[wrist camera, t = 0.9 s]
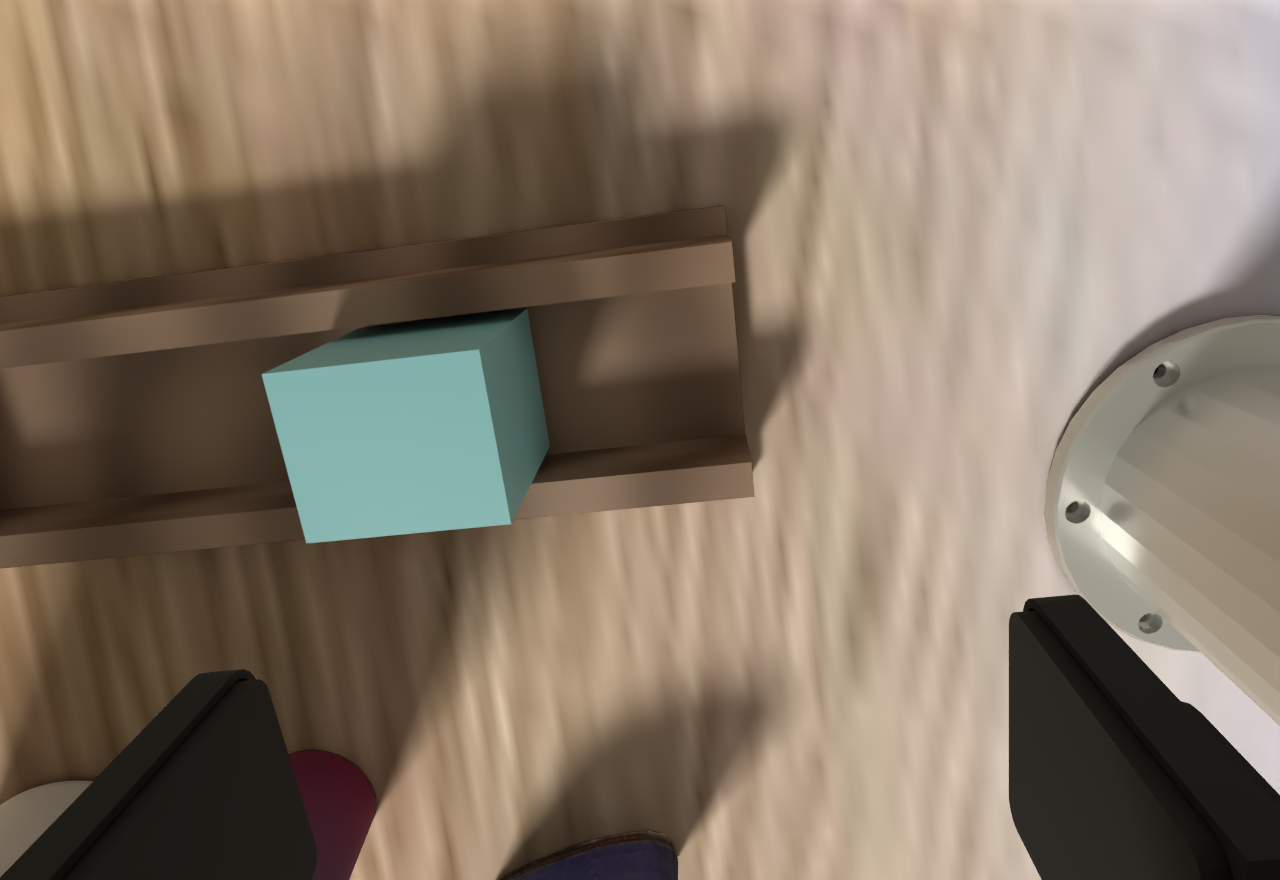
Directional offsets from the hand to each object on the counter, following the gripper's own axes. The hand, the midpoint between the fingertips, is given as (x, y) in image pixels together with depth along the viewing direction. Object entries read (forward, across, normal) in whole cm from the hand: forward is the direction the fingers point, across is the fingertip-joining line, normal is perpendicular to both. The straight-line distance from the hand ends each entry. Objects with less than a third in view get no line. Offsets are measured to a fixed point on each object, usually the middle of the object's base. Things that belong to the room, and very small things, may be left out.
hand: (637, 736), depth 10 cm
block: (+20, +8, 0) cm, 21 cm away
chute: (+21, +12, 0) cm, 24 cm away
